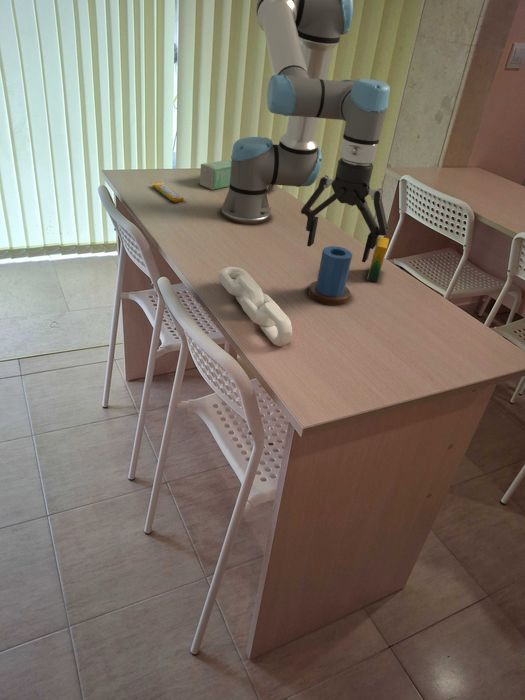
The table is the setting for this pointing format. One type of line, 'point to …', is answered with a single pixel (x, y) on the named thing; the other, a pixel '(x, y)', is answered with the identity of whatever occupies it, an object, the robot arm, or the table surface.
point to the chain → (257, 305)
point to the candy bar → (167, 192)
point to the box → (215, 174)
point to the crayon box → (378, 259)
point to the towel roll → (333, 271)
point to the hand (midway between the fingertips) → (337, 252)
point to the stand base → (328, 299)
